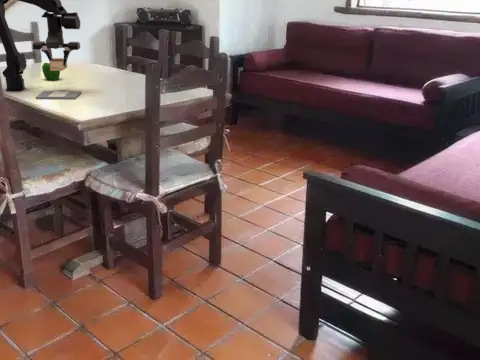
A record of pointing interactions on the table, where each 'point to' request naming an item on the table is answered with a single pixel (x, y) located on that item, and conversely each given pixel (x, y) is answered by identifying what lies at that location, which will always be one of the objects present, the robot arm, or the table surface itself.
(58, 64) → the copper block with band
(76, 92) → the mat
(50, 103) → the table surface
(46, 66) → the bell pepper
